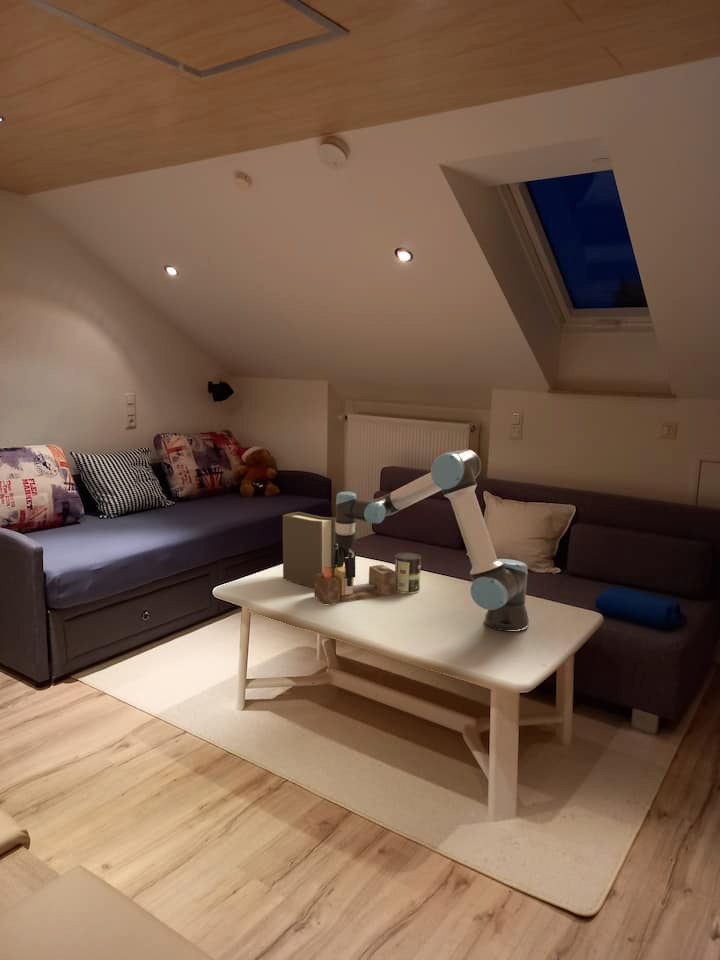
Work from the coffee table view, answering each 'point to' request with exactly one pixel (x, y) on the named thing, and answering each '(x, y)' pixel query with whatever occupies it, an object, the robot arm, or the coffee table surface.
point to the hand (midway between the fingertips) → (343, 590)
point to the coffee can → (407, 573)
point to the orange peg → (327, 572)
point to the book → (307, 546)
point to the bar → (364, 587)
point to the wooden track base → (331, 592)
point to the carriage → (342, 579)
